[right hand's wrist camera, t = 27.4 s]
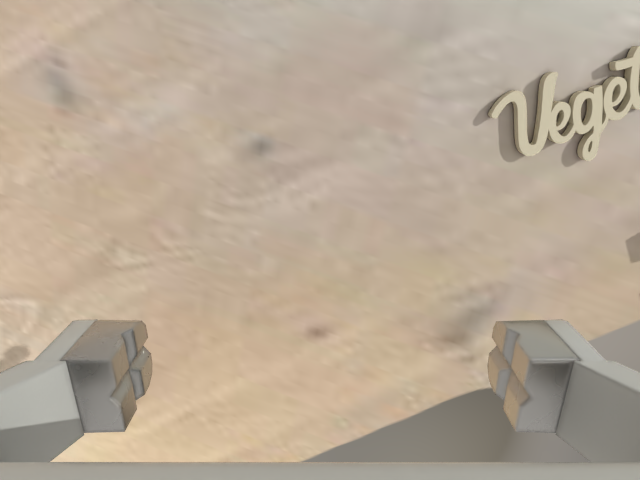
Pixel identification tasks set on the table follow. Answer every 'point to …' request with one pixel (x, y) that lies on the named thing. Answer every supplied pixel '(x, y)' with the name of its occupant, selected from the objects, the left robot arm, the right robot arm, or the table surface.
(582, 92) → the decorative sign
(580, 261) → the table surface
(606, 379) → the right robot arm
